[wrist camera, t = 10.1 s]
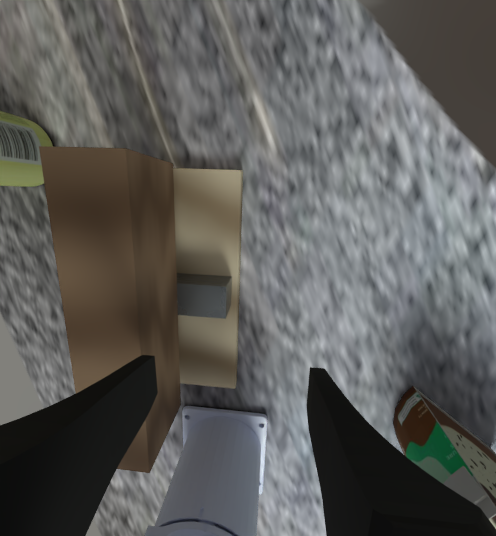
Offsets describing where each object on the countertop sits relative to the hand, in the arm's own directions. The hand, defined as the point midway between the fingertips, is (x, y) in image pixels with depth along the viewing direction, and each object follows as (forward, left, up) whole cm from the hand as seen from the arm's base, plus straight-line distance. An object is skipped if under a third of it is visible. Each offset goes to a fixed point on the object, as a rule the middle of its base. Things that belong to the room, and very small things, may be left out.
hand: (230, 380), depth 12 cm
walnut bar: (+1, +7, -7) cm, 10 cm away
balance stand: (+1, +7, -10) cm, 13 cm away
